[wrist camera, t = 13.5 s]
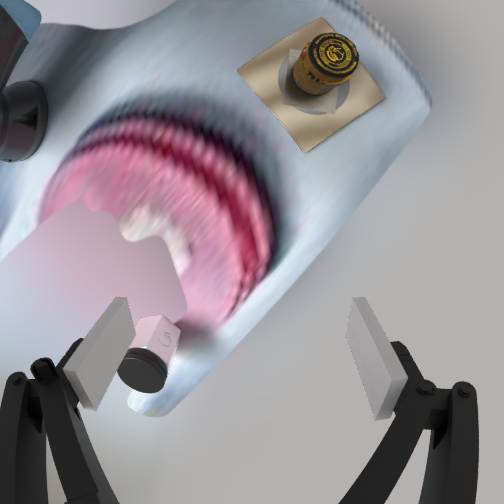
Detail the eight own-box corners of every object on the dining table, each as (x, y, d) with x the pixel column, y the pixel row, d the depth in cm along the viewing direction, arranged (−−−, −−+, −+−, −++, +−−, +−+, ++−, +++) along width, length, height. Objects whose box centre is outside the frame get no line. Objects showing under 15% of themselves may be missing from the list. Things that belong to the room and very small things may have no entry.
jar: (191, 336, 53) (176, 383, 41) (165, 356, 55) (148, 401, 44) (153, 304, 50) (130, 347, 39) (130, 327, 52) (106, 369, 41)
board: (237, 71, 36) (236, 70, 35) (319, 19, 32) (321, 16, 31) (303, 152, 40) (305, 153, 39) (382, 98, 37) (385, 97, 35)
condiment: (341, 59, 34) (370, 35, 23) (334, 114, 37) (362, 107, 26) (289, 49, 34) (300, 18, 22) (281, 104, 37) (290, 91, 26)
